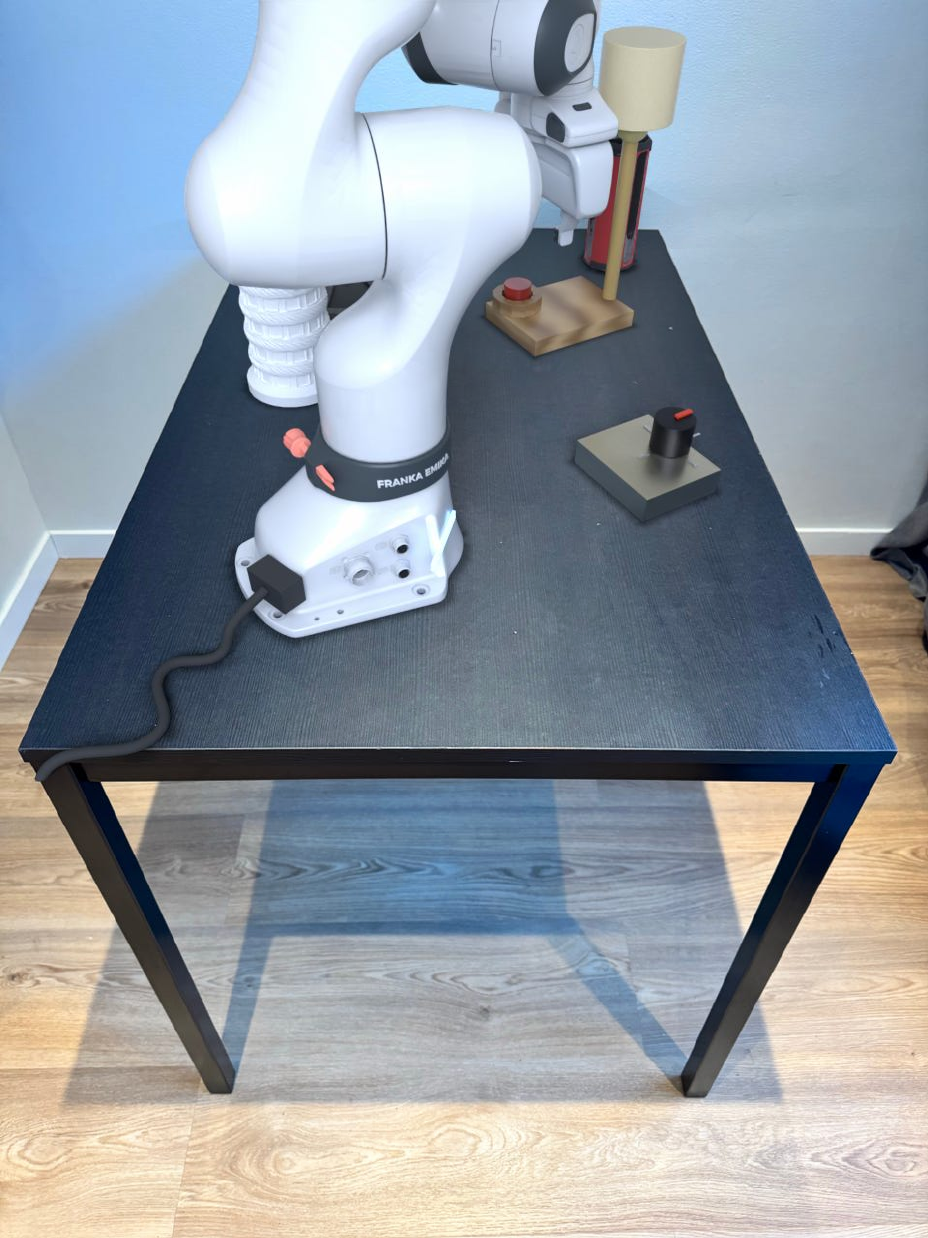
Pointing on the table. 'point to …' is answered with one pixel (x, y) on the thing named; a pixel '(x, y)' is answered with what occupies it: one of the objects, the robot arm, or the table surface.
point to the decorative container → (283, 342)
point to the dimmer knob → (672, 431)
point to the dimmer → (644, 470)
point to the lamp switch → (517, 289)
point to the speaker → (602, 224)
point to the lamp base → (558, 315)
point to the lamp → (636, 109)
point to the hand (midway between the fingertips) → (540, 227)
